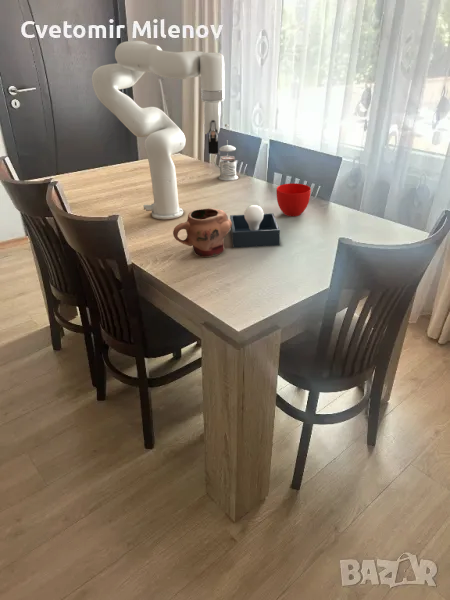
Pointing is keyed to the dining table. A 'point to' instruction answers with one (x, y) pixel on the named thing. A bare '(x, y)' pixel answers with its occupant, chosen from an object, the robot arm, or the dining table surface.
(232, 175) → the french press
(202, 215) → the brown clay mug
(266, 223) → the tote
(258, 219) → the light bulb
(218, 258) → the dining table surface
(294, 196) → the ceramic cup
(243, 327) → the dining table surface
